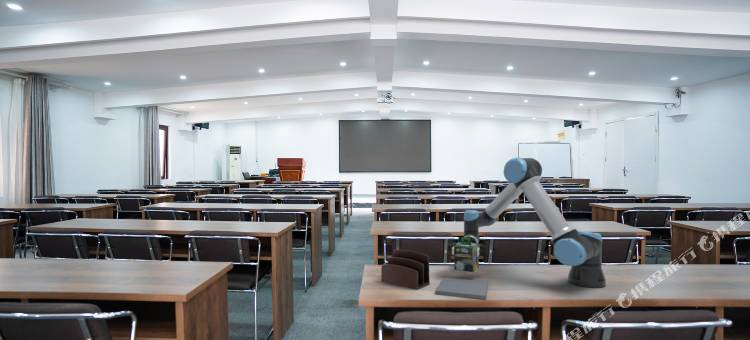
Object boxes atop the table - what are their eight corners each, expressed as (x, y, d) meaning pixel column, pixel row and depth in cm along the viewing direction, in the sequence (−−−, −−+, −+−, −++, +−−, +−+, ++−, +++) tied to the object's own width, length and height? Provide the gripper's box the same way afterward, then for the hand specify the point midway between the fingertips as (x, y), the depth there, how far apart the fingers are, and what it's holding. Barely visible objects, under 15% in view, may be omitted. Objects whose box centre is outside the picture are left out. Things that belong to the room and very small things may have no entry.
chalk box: (479, 268, 188) (478, 236, 188) (473, 272, 180) (473, 239, 180) (459, 265, 193) (459, 234, 192) (453, 270, 185) (453, 237, 184)
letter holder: (393, 276, 190) (394, 247, 190) (429, 284, 178) (430, 253, 178) (380, 281, 183) (381, 250, 182) (417, 290, 170) (417, 257, 170)
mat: (488, 285, 177) (488, 281, 177) (485, 299, 158) (485, 295, 158) (442, 280, 184) (442, 277, 184) (435, 294, 165) (435, 290, 165)
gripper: (493, 252, 200) (491, 262, 179) (446, 249, 207) (440, 259, 186) (493, 237, 200) (491, 245, 179) (446, 235, 207) (439, 242, 186)
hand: (465, 252), depth 182 cm, fingers closed on chalk box, 10 cm apart
